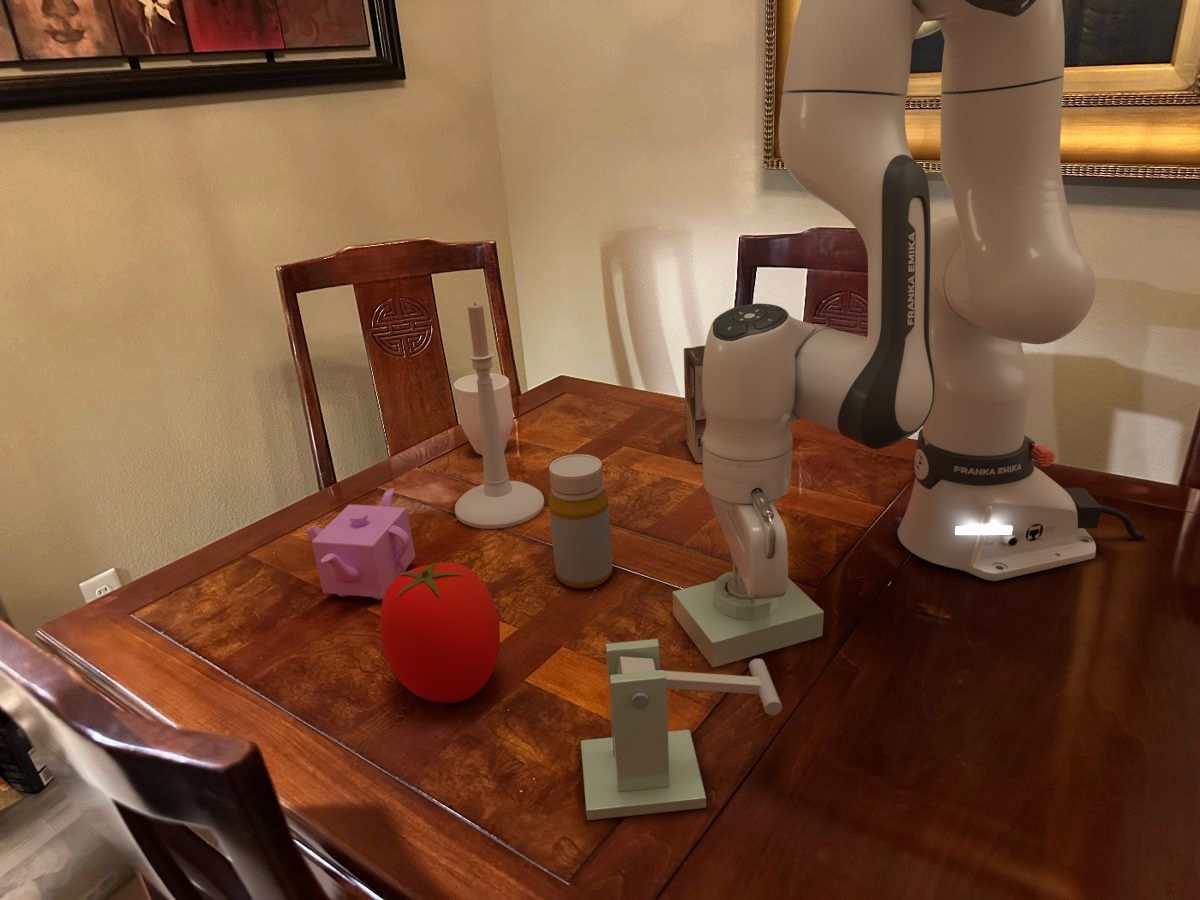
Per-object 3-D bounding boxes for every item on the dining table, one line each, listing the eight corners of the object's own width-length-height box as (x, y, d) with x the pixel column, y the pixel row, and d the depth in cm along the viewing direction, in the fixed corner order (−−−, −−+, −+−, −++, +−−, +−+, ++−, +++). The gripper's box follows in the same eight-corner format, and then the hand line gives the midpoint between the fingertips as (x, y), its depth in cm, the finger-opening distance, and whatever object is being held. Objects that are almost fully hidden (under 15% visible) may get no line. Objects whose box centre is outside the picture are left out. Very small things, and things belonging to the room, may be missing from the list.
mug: (509, 461, 135) (501, 391, 130) (456, 460, 136) (446, 391, 131) (525, 432, 145) (518, 366, 141) (476, 432, 147) (467, 366, 142)
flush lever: (761, 676, 73) (767, 654, 72) (778, 720, 68) (785, 697, 67) (613, 666, 72) (617, 643, 71) (620, 711, 67) (624, 687, 66)
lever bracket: (689, 739, 77) (687, 624, 72) (706, 808, 70) (705, 686, 65) (581, 750, 77) (571, 635, 72) (586, 820, 70) (575, 699, 64)
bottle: (606, 593, 99) (599, 479, 93) (549, 589, 101) (538, 477, 95) (617, 561, 106) (610, 453, 99) (563, 558, 107) (553, 451, 101)
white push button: (753, 585, 93) (753, 571, 92) (771, 604, 90) (772, 590, 89) (720, 593, 92) (720, 580, 91) (738, 613, 89) (738, 599, 88)
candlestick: (553, 487, 126) (534, 289, 113) (532, 530, 114) (509, 314, 102) (471, 485, 128) (444, 290, 116) (442, 527, 116) (409, 316, 104)
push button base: (774, 588, 98) (775, 551, 96) (822, 636, 90) (825, 597, 88) (672, 615, 95) (671, 577, 93) (712, 668, 86) (712, 628, 84)
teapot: (353, 541, 114) (339, 477, 110) (443, 547, 111) (433, 482, 107) (280, 620, 98) (261, 548, 94) (383, 630, 95) (369, 556, 91)
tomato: (366, 689, 86) (340, 572, 80) (451, 634, 94) (433, 523, 88) (446, 743, 79) (425, 618, 73) (531, 678, 86) (518, 560, 80)
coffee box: (736, 459, 130) (736, 361, 124) (695, 464, 130) (694, 365, 123) (721, 436, 139) (721, 343, 132) (683, 440, 138) (681, 346, 132)
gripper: (808, 516, 75) (801, 642, 81) (753, 428, 94) (751, 536, 99) (738, 522, 75) (736, 648, 80) (697, 432, 93) (698, 540, 99)
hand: (744, 585), depth 90 cm, fingers closed, pressing on white push button
